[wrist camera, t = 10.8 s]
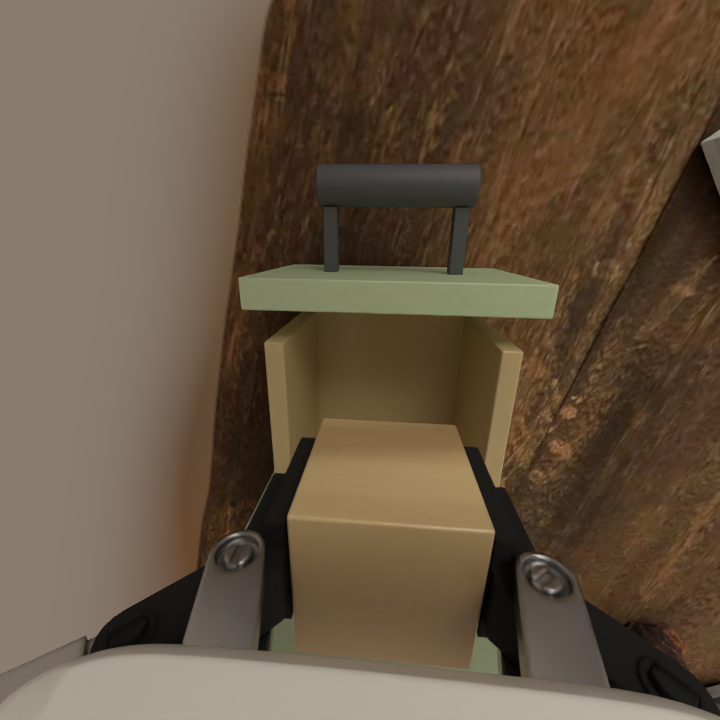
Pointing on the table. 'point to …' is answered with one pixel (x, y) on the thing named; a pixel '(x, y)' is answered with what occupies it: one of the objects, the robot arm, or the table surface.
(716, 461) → the table surface
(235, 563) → the robot arm
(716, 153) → the hard drive
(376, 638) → the block
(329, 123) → the table surface
